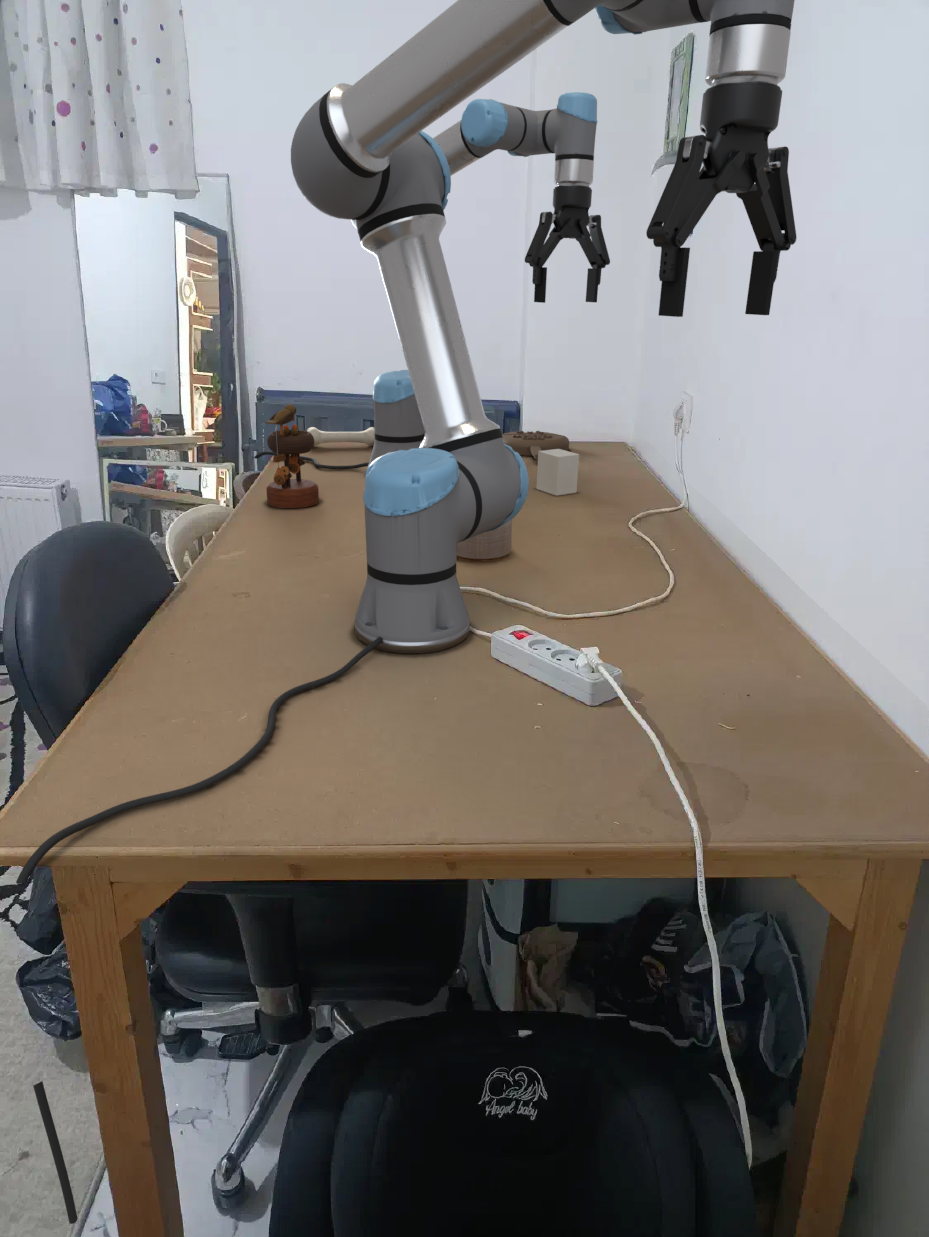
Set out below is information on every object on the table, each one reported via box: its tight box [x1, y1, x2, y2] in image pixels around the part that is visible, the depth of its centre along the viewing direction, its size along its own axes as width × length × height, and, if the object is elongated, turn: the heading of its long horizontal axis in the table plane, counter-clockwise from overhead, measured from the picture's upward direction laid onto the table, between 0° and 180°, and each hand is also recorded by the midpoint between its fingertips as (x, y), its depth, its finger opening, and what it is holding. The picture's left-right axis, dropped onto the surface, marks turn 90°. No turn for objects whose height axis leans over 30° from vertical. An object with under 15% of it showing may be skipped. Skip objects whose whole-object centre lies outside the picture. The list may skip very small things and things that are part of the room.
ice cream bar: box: [502, 430, 570, 460], centre depth 224 cm, size 21×28×4 cm
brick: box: [536, 449, 580, 497], centre depth 186 cm, size 6×7×8 cm
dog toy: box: [306, 426, 375, 447], centre depth 230 cm, size 20×6×5 cm, turn 99°
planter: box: [457, 519, 513, 562], centre depth 143 cm, size 11×11×10 cm
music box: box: [264, 403, 320, 509], centre depth 172 cm, size 15×11×20 cm
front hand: (715, 315), depth 91 cm, fingers open, 13 cm apart
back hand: (565, 302), depth 173 cm, fingers open, 13 cm apart
